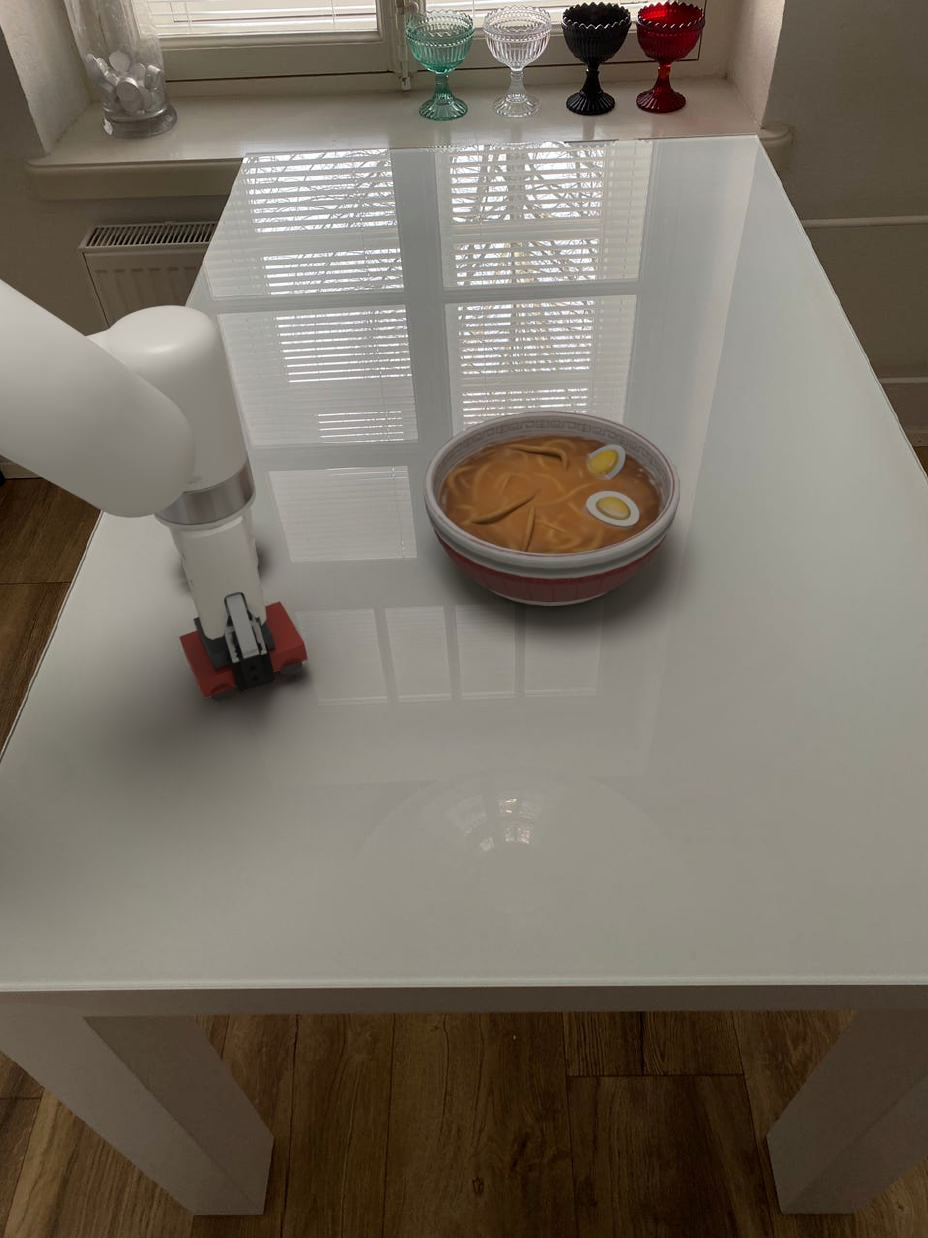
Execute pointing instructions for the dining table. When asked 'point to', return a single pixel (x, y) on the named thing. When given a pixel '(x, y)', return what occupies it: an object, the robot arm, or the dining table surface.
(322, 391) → the dining table surface
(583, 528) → the bowl
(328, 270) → the dining table surface
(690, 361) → the dining table surface
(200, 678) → the toy car
